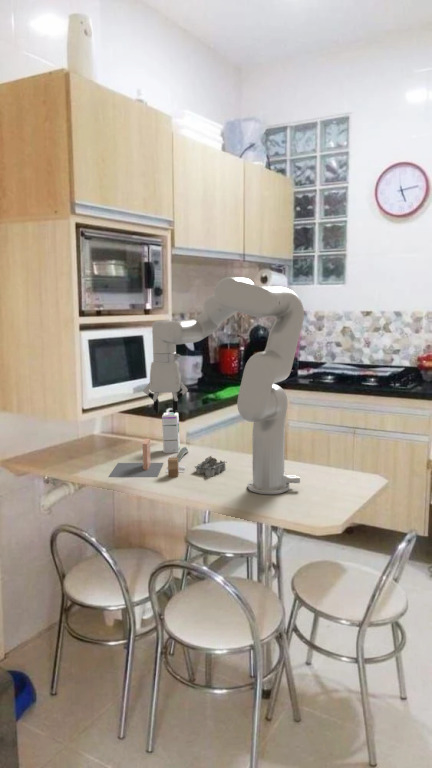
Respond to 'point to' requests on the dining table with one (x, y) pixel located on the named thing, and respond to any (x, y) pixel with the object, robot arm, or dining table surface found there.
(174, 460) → the turner
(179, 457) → the ceramic fragment
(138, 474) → the mat
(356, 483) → the dining table surface
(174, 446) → the syrup box
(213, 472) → the egg carton
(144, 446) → the tile
